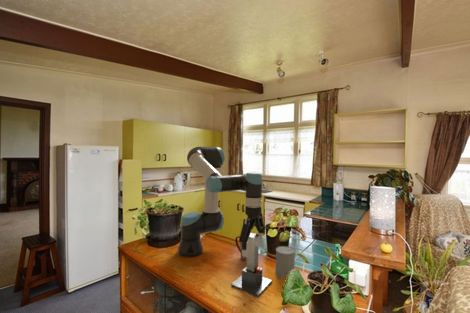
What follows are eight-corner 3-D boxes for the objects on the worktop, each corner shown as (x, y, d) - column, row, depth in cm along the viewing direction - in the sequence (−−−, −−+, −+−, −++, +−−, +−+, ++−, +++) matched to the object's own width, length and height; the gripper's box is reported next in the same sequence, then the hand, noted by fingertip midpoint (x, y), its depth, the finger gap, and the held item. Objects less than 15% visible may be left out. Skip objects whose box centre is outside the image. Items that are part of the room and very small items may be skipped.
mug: (257, 258, 136) (258, 235, 135) (249, 263, 128) (249, 239, 128) (240, 252, 143) (240, 230, 143) (231, 257, 136) (231, 234, 136)
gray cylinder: (290, 280, 112) (291, 255, 112) (272, 275, 117) (272, 251, 117) (296, 272, 120) (297, 248, 120) (279, 267, 125) (279, 244, 125)
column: (244, 269, 108) (245, 235, 108) (250, 265, 112) (250, 232, 112) (254, 273, 105) (255, 238, 105) (259, 268, 109) (260, 234, 109)
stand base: (231, 286, 107) (231, 268, 107) (246, 273, 119) (247, 256, 118) (258, 297, 99) (258, 277, 99) (272, 282, 111) (272, 264, 111)
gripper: (246, 213, 95) (245, 263, 96) (272, 202, 116) (271, 244, 117) (231, 210, 100) (230, 258, 100) (258, 200, 120) (258, 240, 121)
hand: (252, 251), depth 108 cm, fingers open, 13 cm apart
